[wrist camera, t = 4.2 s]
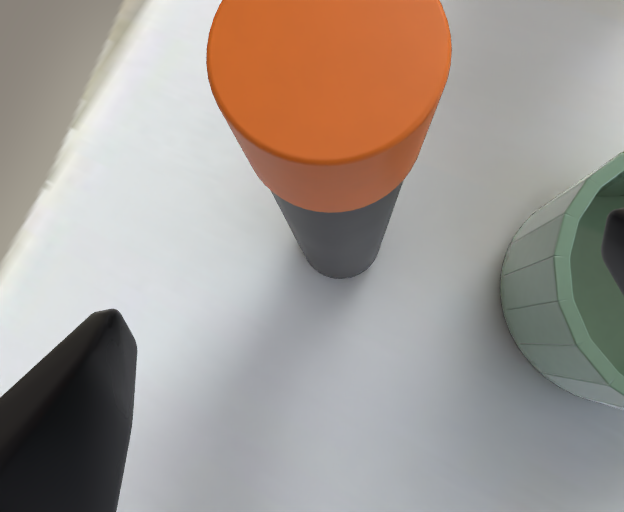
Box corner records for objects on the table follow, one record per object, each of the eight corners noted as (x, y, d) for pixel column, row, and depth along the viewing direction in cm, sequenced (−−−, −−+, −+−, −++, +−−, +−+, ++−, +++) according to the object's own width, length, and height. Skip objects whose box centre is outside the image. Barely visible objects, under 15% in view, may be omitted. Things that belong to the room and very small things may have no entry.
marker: (368, 292, 19) (413, 194, 6) (288, 267, 19) (170, 125, 6) (392, 213, 19) (482, -35, 6) (313, 190, 20) (249, -87, 7)
